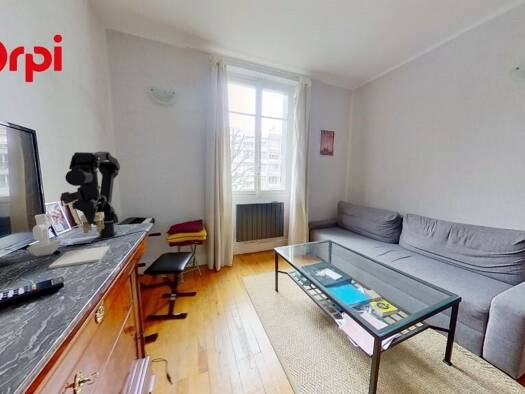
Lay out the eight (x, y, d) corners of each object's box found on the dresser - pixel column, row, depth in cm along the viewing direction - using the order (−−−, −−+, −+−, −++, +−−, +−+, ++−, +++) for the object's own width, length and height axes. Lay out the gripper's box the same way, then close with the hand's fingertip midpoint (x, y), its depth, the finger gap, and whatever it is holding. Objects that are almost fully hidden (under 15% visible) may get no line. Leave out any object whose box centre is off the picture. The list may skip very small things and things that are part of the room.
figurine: (26, 259, 71) (19, 218, 69) (39, 250, 79) (33, 212, 77) (53, 255, 75) (48, 215, 73) (64, 246, 83) (59, 211, 81)
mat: (67, 253, 76) (66, 251, 76) (109, 248, 82) (108, 246, 82) (48, 268, 64) (48, 266, 64) (99, 261, 70) (99, 258, 70)
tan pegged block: (87, 229, 85) (85, 213, 84) (105, 227, 87) (103, 212, 86) (82, 233, 79) (80, 216, 78) (101, 231, 82) (99, 214, 81)
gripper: (72, 183, 86) (77, 219, 88) (50, 186, 69) (56, 230, 71) (105, 182, 90) (108, 216, 92) (91, 185, 74) (95, 227, 76)
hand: (93, 222), depth 83 cm, fingers closed on tan pegged block, 6 cm apart
